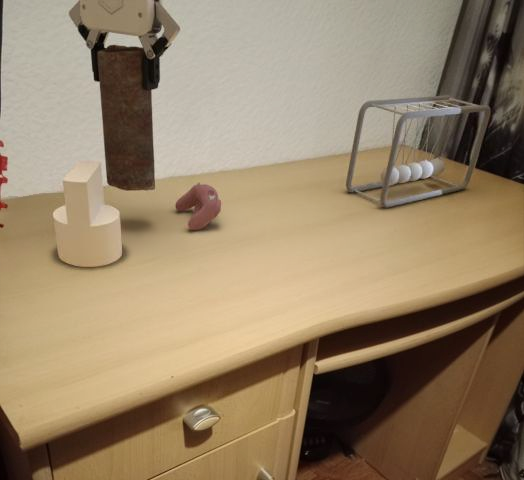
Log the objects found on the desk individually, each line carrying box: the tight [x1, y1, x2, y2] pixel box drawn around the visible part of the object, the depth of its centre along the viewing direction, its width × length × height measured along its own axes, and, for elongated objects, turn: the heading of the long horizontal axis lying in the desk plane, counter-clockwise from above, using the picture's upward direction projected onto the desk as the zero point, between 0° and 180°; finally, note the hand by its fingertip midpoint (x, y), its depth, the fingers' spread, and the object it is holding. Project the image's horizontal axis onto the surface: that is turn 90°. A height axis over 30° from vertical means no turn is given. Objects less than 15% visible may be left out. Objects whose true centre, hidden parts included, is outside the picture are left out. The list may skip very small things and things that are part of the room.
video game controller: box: [174, 182, 222, 231], centre depth 92 cm, size 10×5×7 cm, turn 22°
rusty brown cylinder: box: [97, 44, 156, 192], centre depth 80 cm, size 8×7×20 cm
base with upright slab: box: [52, 160, 123, 268], centre depth 76 cm, size 9×9×12 cm
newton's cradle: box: [345, 95, 492, 209], centre depth 112 cm, size 30×10×18 cm, turn 129°
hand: (126, 83), depth 77 cm, fingers closed on rusty brown cylinder, 7 cm apart
